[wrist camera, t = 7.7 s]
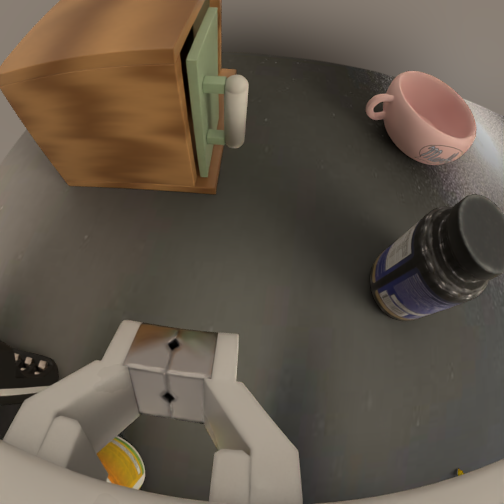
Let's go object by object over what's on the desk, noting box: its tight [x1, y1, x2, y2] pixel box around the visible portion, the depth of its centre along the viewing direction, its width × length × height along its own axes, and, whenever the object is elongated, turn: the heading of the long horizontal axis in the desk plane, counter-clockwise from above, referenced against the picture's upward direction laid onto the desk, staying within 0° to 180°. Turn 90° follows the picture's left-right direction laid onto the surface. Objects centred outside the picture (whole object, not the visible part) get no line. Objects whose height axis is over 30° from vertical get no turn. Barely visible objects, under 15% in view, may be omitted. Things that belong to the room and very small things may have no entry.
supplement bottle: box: [97, 436, 145, 490], centre depth 13 cm, size 5×5×10 cm
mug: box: [366, 71, 476, 165], centre depth 26 cm, size 12×10×6 cm
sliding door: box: [186, 7, 248, 177], centre depth 20 cm, size 3×6×11 cm, turn 175°
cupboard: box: [0, 0, 237, 194], centre depth 21 cm, size 14×15×14 cm
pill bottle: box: [370, 194, 504, 321], centre depth 19 cm, size 6×6×11 cm
